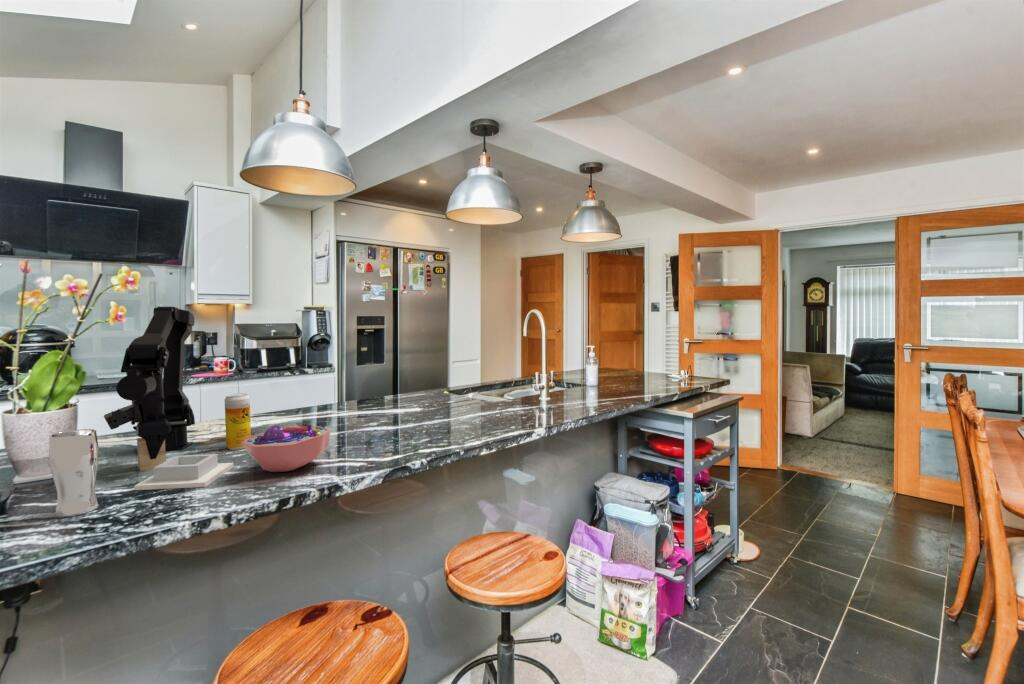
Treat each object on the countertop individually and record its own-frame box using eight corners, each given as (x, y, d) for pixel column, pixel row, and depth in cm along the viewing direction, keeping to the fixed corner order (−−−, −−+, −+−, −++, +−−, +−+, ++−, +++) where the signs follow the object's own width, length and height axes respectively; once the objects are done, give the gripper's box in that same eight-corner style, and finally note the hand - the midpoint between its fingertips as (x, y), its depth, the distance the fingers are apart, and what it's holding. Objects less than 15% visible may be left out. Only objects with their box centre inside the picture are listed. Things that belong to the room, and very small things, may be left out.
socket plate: (171, 469, 115) (171, 453, 115) (233, 466, 117) (233, 450, 117) (134, 490, 101) (133, 471, 101) (205, 486, 103) (204, 468, 103)
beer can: (240, 451, 131) (238, 397, 130) (221, 450, 132) (219, 396, 131) (256, 445, 136) (254, 393, 136) (237, 444, 138) (236, 392, 137)
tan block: (138, 466, 117) (136, 437, 117) (163, 462, 121) (161, 433, 120) (140, 471, 114) (139, 440, 113) (166, 466, 117) (164, 437, 117)
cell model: (346, 463, 120) (345, 419, 119) (267, 487, 103) (266, 435, 102) (307, 452, 129) (306, 411, 128) (229, 473, 113) (227, 425, 112)
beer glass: (48, 521, 86) (44, 439, 85) (56, 509, 92) (51, 432, 91) (99, 512, 90) (95, 433, 89) (103, 500, 96) (99, 427, 95)
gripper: (103, 393, 118) (106, 455, 119) (108, 403, 104) (111, 473, 105) (159, 388, 125) (161, 446, 126) (170, 396, 112) (173, 462, 112)
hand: (151, 456), depth 117 cm, fingers closed on tan block, 5 cm apart
